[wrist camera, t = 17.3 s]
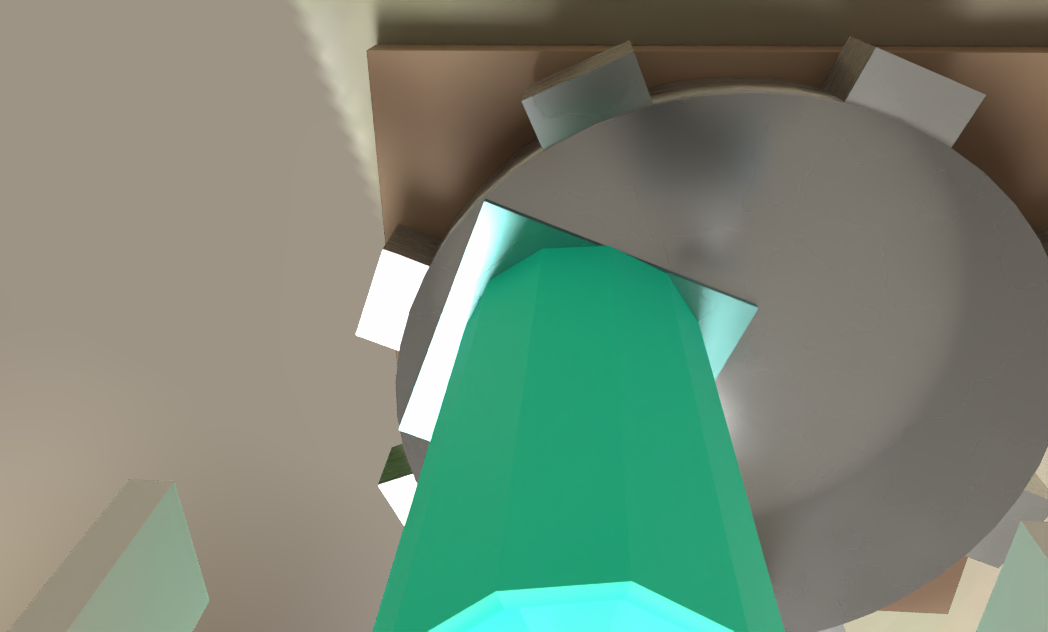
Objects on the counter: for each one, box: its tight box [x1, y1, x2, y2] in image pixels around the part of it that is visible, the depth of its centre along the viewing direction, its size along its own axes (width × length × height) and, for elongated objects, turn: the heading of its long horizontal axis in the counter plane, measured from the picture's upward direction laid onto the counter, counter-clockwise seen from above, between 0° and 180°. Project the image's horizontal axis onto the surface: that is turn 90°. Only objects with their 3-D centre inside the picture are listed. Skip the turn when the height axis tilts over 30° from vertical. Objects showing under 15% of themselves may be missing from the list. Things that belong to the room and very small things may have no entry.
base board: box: [367, 45, 1048, 614], centre depth 23 cm, size 18×18×1 cm
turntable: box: [356, 36, 1048, 632], centre depth 18 cm, size 19×19×8 cm
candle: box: [372, 246, 785, 632], centre depth 14 cm, size 6×6×12 cm
